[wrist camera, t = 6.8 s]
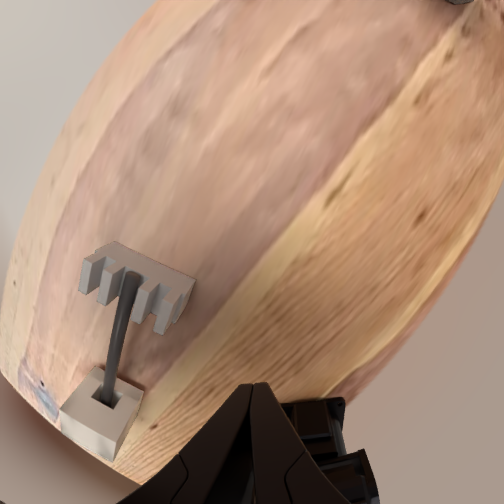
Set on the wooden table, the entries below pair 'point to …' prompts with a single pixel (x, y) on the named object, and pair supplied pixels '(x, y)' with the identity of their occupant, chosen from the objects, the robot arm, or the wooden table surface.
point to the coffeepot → (460, 1)
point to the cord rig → (132, 296)
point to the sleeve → (100, 415)
